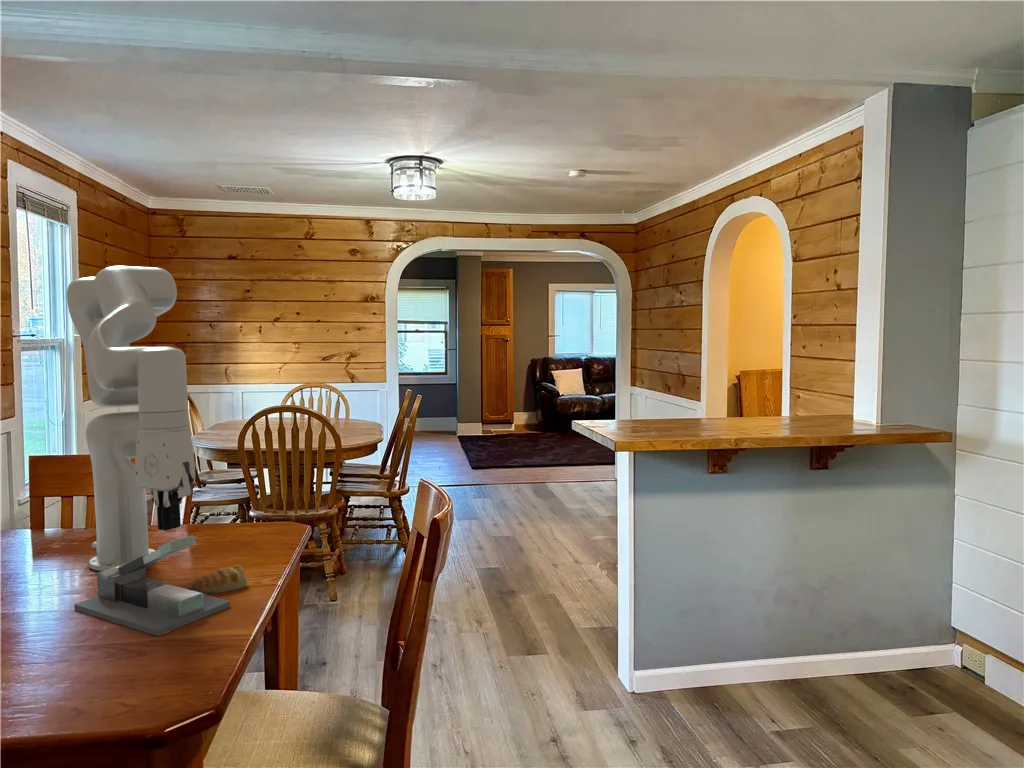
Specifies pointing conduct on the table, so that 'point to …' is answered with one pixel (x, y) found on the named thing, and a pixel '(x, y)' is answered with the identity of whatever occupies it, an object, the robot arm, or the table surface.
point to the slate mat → (146, 614)
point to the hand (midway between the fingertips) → (169, 528)
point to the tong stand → (148, 593)
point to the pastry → (221, 580)
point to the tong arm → (158, 554)
